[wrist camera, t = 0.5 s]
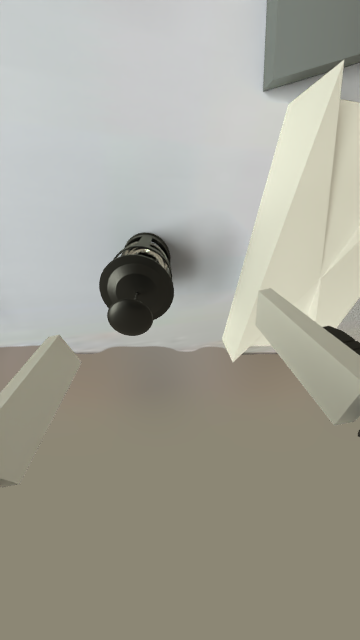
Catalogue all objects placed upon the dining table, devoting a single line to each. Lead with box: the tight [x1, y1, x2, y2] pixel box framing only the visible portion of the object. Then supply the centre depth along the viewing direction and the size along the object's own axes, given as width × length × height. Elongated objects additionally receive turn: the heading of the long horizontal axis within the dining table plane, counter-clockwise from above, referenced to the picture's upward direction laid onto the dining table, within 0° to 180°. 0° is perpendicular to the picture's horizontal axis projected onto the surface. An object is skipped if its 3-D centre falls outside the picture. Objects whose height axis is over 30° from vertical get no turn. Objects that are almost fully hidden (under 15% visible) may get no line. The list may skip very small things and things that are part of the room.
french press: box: [99, 233, 174, 336], centre depth 25 cm, size 12×9×23 cm
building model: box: [222, 60, 360, 362], centre depth 34 cm, size 45×22×10 cm, turn 176°
